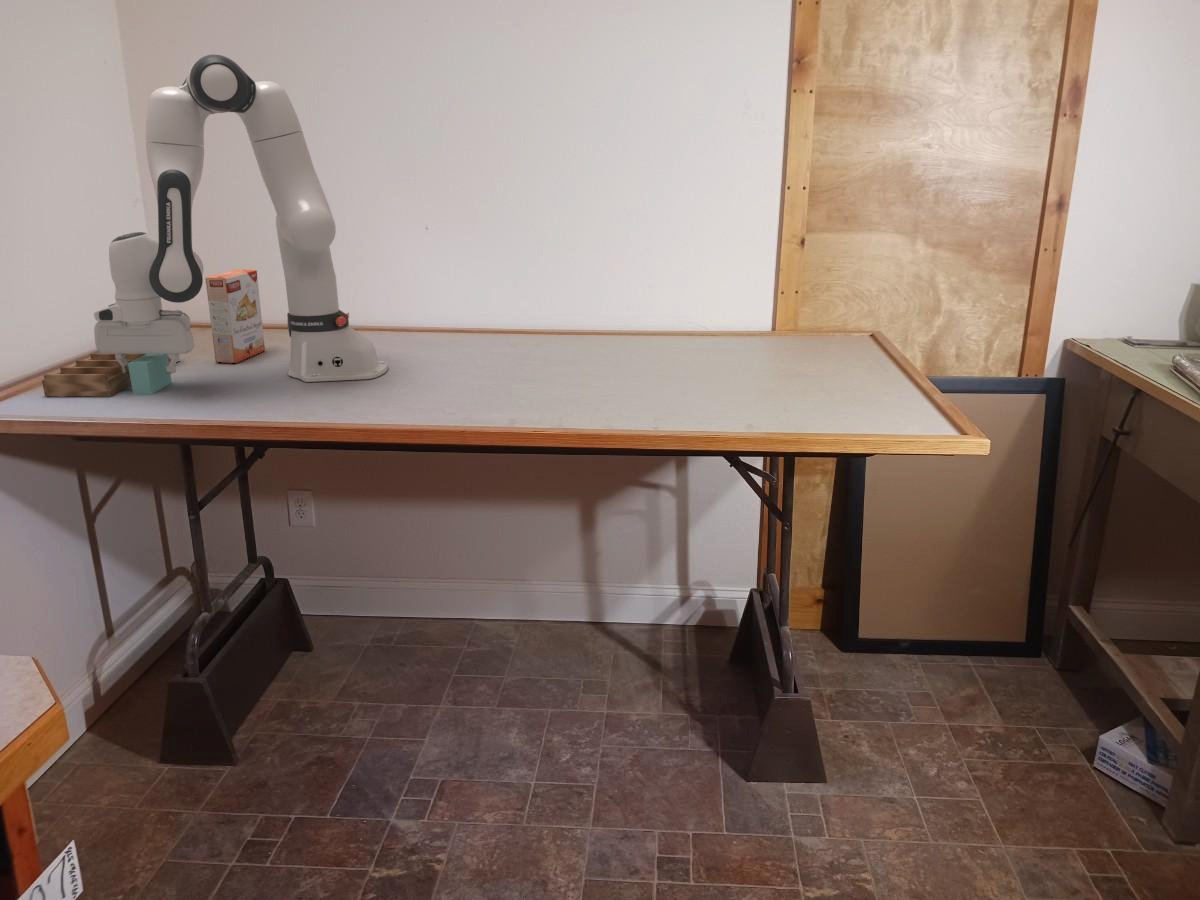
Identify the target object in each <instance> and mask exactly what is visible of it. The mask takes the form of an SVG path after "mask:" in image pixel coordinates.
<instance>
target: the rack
mask: <svg viewBox="0 0 1200 900" xmlns="http://www.w3.org/2000/svg"><path fill="white" fill-rule="evenodd" d="M89 355H90V358H88V359H76V360H75V365H73V366H61V367H60V369H59V370H60V371H59V372H58V373H54V374H53V373H52V374H51V373H50V374H49V373H47V374H43V379H42V380H41V383H42V387H43V393H44V397H45V396H99V397H98V398H101V397H102V398H110V397H111V398H112V397H113V396H115V395H116V394H118V393H121V392H123V391H125V390H126V389H128V388H130V387H132V385H131V379H130V374H124V373H123V368H122V366H121V365H120V363H119V362H118V361H117V360H116V358H115V354H101V353H100V352H99V353H90V354H89ZM143 355H145V354H126V356H125V357H124V358H125V359H126V360H127V362H128V363H129V362H131V361H133V360H135V359H137V358H139V357H141V356H143Z"/></svg>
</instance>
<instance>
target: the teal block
mask: <svg viewBox="0 0 1200 900" xmlns="http://www.w3.org/2000/svg"><path fill="white" fill-rule="evenodd" d="M168 364H169V361H168V355H167V354H145V355H143V356H141V357H139V358H137V359H135V360H133V361H131V362H129V363H128V367H129V373H130V379H131V390H132V395H133V396H134V395H135V396H137V395H138V396H140V395H142V396H144V395H146V396H147V395H153V394H155V393H157V392H158V391H160V390H162V389H163V388H165V387H167V386H168V385H171V384H172V374H167V373H166V368H165V366H166V365H168Z"/></svg>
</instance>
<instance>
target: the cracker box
mask: <svg viewBox="0 0 1200 900" xmlns="http://www.w3.org/2000/svg"><path fill="white" fill-rule="evenodd" d="M204 279H205V285H206V293H207V295H206V296H207V301H208V302H207V303H208V311H209V318H210V326H211V337H212V342H213V351H214V358H215V363H218V362H221V364H232V363H235V364H238V363H240V362H243V361H245V360H248V359H250V358H253V357H255V356H257V355H259V354H258V353H260V354H262V353H264V352H263V351H265V352H266V350H265V349H266V348H265V346H266V345H265V337H264V329H263V328H264V327H263V319H262V318H263V317H262V310H261V301H260V300H261V299H260V289H259V281H258V270H256V269H245V268H244V269H243V268H242V269H241V268H238V269H234V270H230V271H226V272H221V273H217V274H213V275H209V276H205V278H204ZM261 352H262V353H261ZM256 354H257V355H256ZM254 355H255V356H254ZM252 356H253V357H252ZM249 357H250V358H249ZM247 358H248V359H247ZM244 359H245V360H244Z"/></svg>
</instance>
